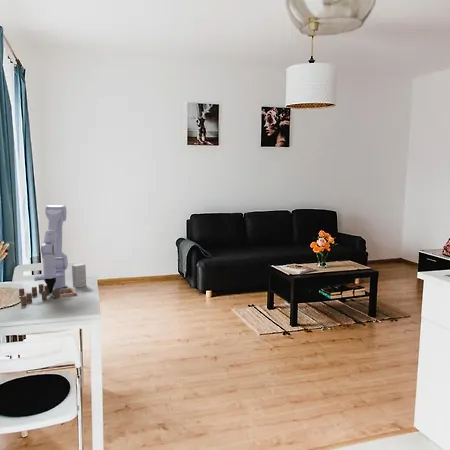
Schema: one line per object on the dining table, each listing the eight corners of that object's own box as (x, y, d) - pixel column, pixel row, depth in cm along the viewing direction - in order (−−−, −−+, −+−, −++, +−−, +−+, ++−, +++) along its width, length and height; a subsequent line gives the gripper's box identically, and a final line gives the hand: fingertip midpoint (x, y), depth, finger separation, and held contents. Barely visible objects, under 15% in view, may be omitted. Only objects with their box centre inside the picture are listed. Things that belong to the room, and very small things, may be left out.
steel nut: (51, 293, 244) (51, 288, 243) (62, 292, 246) (61, 287, 246) (53, 296, 239) (53, 291, 238) (64, 295, 241) (64, 289, 241)
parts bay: (54, 292, 247) (54, 290, 247) (71, 290, 251) (71, 287, 251) (59, 297, 238) (59, 295, 238) (76, 295, 242) (76, 292, 242)
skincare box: (82, 284, 262) (82, 263, 261) (86, 285, 259) (85, 264, 258) (72, 286, 258) (71, 264, 257) (76, 288, 255) (75, 266, 254)
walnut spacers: (15, 294, 242) (15, 287, 241) (53, 289, 251) (53, 282, 251) (21, 305, 224) (21, 297, 224) (61, 300, 234) (61, 292, 233)
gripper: (35, 270, 232) (36, 296, 234) (66, 266, 239) (67, 293, 241) (33, 267, 238) (34, 293, 240) (63, 264, 245) (64, 289, 247)
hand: (50, 292), depth 241 cm, fingers closed
